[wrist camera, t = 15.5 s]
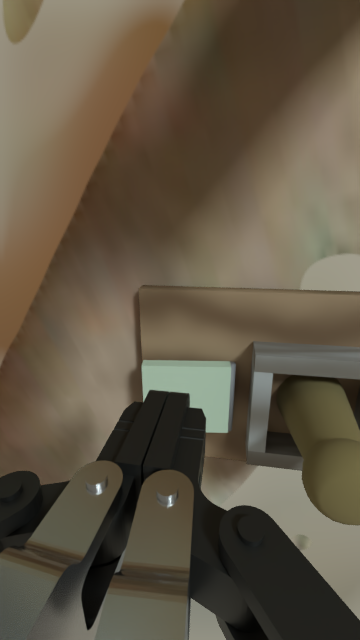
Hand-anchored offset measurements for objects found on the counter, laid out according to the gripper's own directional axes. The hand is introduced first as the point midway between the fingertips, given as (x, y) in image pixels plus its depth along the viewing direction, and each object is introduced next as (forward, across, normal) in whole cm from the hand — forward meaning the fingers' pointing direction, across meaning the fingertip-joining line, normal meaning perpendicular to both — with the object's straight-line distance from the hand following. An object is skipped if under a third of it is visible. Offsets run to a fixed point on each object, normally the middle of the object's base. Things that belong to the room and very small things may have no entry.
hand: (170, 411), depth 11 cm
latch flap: (+15, +1, +9) cm, 18 cm away
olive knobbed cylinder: (+16, -10, +9) cm, 21 cm away
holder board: (+17, -6, +8) cm, 20 cm away
